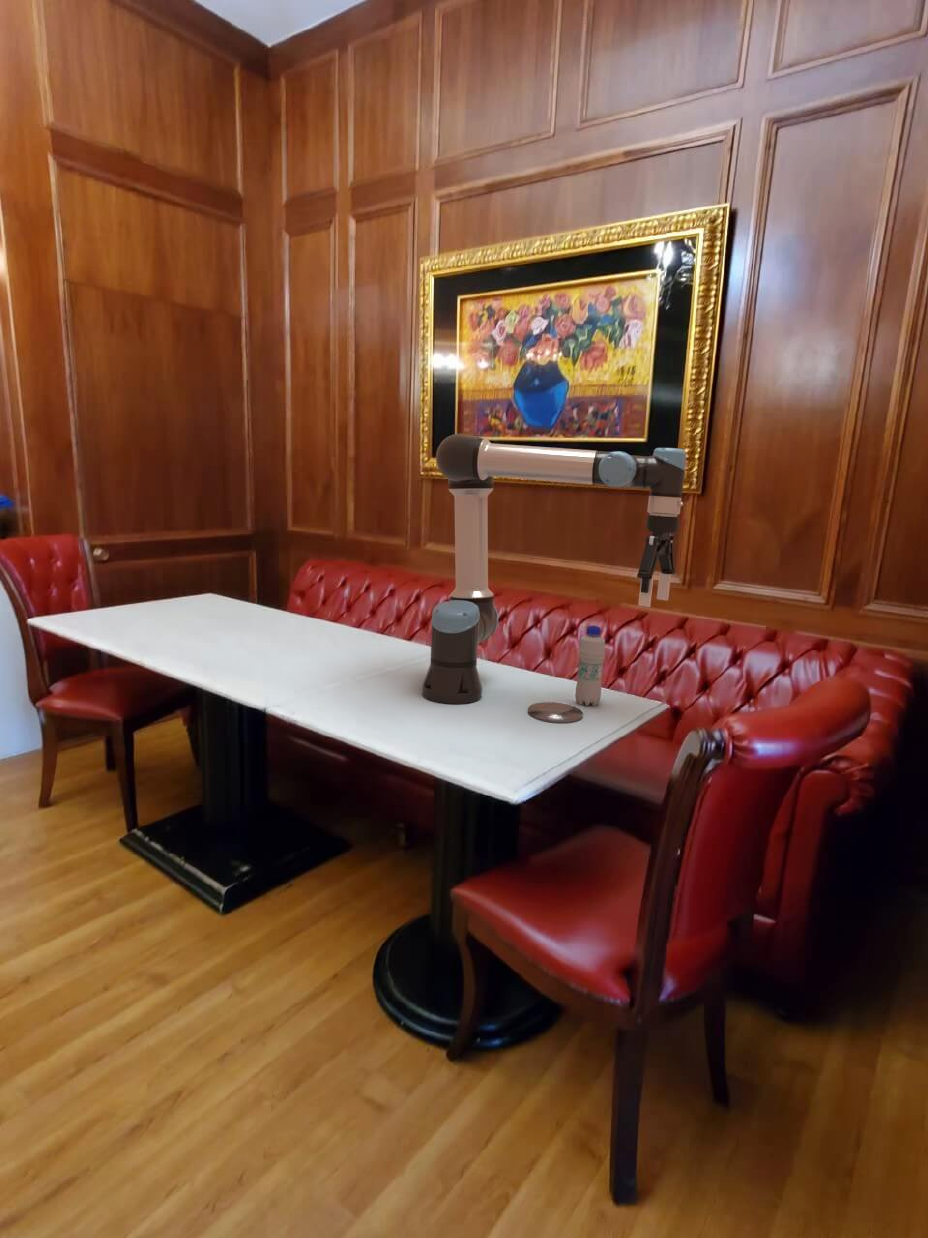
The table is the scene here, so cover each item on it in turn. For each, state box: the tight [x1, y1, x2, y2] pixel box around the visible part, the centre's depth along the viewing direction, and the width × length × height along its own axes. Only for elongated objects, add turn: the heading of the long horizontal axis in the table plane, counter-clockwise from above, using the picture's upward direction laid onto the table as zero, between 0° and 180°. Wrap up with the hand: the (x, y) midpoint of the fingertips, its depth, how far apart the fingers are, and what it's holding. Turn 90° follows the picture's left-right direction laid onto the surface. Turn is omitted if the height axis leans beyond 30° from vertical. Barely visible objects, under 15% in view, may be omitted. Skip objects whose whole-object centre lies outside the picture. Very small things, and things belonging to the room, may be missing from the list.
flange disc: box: [527, 701, 584, 724], centre depth 167 cm, size 13×13×1 cm
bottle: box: [574, 625, 607, 707], centre depth 174 cm, size 7×7×20 cm
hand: (653, 602), depth 171 cm, fingers open, 13 cm apart
